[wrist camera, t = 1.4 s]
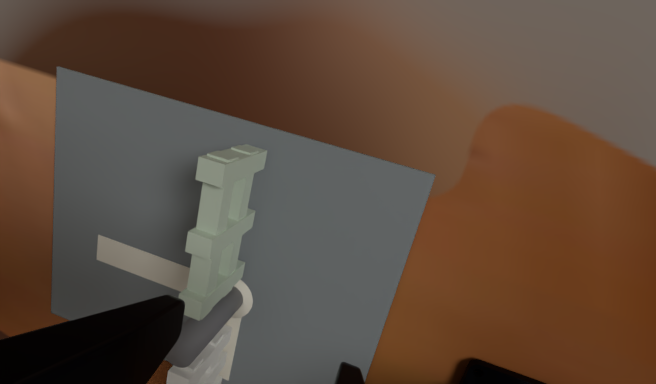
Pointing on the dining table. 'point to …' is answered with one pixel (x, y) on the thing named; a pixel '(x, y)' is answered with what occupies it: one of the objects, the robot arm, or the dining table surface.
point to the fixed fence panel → (204, 344)
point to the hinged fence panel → (220, 225)
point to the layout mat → (257, 243)
